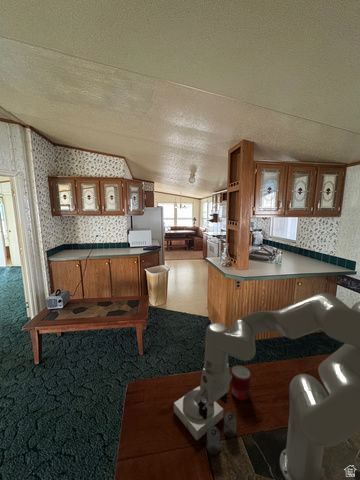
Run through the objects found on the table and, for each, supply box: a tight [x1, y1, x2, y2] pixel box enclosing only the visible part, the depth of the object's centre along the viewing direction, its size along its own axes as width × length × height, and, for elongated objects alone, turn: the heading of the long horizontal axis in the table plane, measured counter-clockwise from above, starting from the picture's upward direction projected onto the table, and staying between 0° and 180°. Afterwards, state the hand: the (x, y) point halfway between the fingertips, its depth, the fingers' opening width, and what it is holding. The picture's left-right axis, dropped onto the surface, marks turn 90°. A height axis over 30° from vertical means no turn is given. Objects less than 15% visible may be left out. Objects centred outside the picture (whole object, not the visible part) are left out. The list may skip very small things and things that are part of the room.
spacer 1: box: [206, 425, 221, 456], centre depth 73 cm, size 4×4×6 cm
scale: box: [173, 385, 224, 441], centre depth 85 cm, size 14×14×4 cm
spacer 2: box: [223, 411, 237, 439], centre depth 79 cm, size 4×4×6 cm
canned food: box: [230, 365, 251, 401], centre depth 95 cm, size 8×8×11 cm
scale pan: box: [183, 389, 214, 420], centre depth 85 cm, size 12×12×1 cm
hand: (213, 407), depth 72 cm, fingers open, 9 cm apart
